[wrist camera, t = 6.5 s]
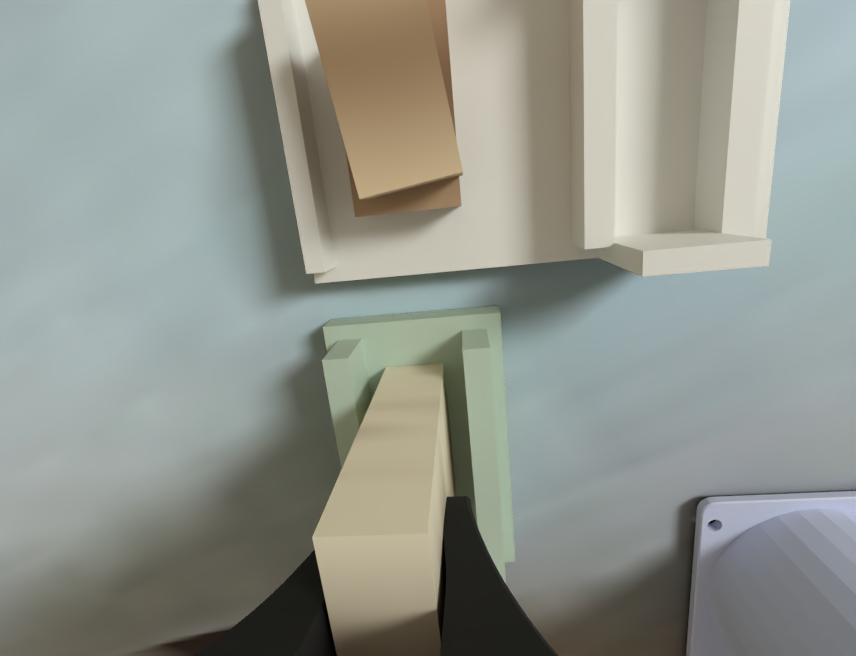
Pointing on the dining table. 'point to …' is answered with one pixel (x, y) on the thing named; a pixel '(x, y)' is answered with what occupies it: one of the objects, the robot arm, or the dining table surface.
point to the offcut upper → (386, 92)
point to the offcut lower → (449, 189)
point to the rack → (560, 139)
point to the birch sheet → (391, 522)
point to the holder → (466, 395)
